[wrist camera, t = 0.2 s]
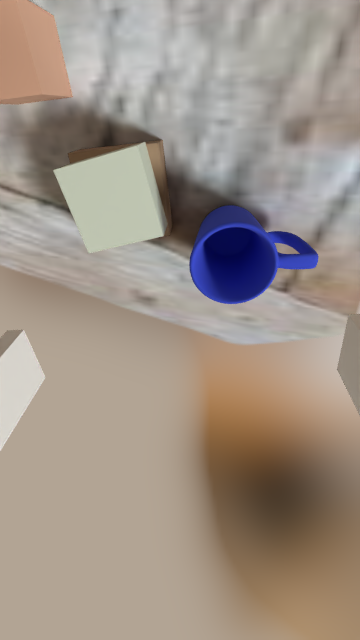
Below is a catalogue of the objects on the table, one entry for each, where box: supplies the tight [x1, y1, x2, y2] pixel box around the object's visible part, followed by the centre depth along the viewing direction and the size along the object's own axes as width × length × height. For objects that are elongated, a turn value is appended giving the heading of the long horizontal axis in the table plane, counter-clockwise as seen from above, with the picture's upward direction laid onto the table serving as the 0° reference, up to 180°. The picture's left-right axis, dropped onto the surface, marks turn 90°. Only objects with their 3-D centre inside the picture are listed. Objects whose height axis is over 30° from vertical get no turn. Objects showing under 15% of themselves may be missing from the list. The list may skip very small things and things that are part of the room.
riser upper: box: [53, 142, 168, 253], centre depth 31 cm, size 8×8×4 cm
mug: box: [190, 205, 318, 304], centre depth 34 cm, size 8×12×10 cm
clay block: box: [0, 0, 73, 104], centre depth 28 cm, size 6×6×7 cm
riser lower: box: [68, 140, 173, 236], centre depth 35 cm, size 9×9×4 cm
